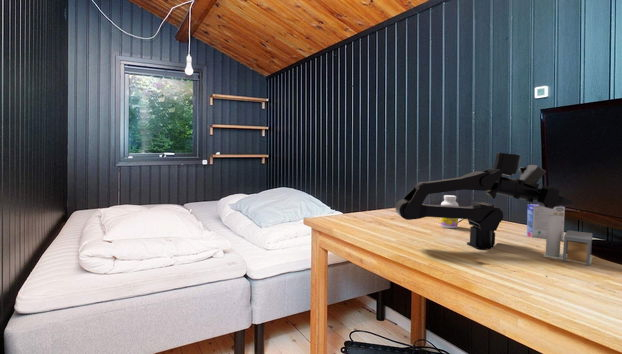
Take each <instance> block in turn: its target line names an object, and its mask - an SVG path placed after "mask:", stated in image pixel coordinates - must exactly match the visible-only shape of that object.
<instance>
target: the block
mask: <svg viewBox="0 0 622 354" xmlns="http://www.w3.org/2000/svg"><path fill="white" fill-rule="evenodd" d="M587 244H588V243H583V242H576V241H568V251H567V254H566V255H567V259H568V260H574V261H579V262H585V263H586V259H587Z"/></svg>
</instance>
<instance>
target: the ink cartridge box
mask: <svg viewBox="0 0 622 354" xmlns="http://www.w3.org/2000/svg"><path fill="white" fill-rule="evenodd" d="M526 208H527V209H526V211H527V215H526V219H527V221H526V237H528V238H535V239H542V240H546V238H547V219H548V215H559V216H562V224H561V241H560V242H564V236H565V231H564V230H565V215H566V214H565V212H566V206H565V205H563V206H558V207H554V208H553V209H550V208H546V207H543V206H540V205H539V204H538V203H537V204H535V203H534V204H533V203H528V204H527V207H526Z"/></svg>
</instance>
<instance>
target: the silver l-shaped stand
mask: <svg viewBox="0 0 622 354" xmlns="http://www.w3.org/2000/svg"><path fill="white" fill-rule="evenodd" d="M561 224H562V216H559V215H548V219H547V238H546V239H545V241H546V243H545V253H544V254H543V257H546V258H550V259H551V258H552V259H557V260H562V261H563V253H561V242H562V241H561ZM566 261H568V262H574V263H580V264H584V265H586V263H585V262H579V261H574V260H568V259H567V254H566ZM592 261H593V255H592V254H591V255H590V262H589V265H592Z"/></svg>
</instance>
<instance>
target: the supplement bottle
mask: <svg viewBox="0 0 622 354" xmlns="http://www.w3.org/2000/svg"><path fill="white" fill-rule="evenodd" d="M456 200H457V196H456V195H450V194H445V195H443V201H442V202H441V203H440V205H445V206H459V203H458V202H457V201H456ZM439 219H440V220H439V221H440V222H439V224H440V227H442V228H445V229H457V228H458V227H459V226H458V225H459V219H455V218H439Z"/></svg>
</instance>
